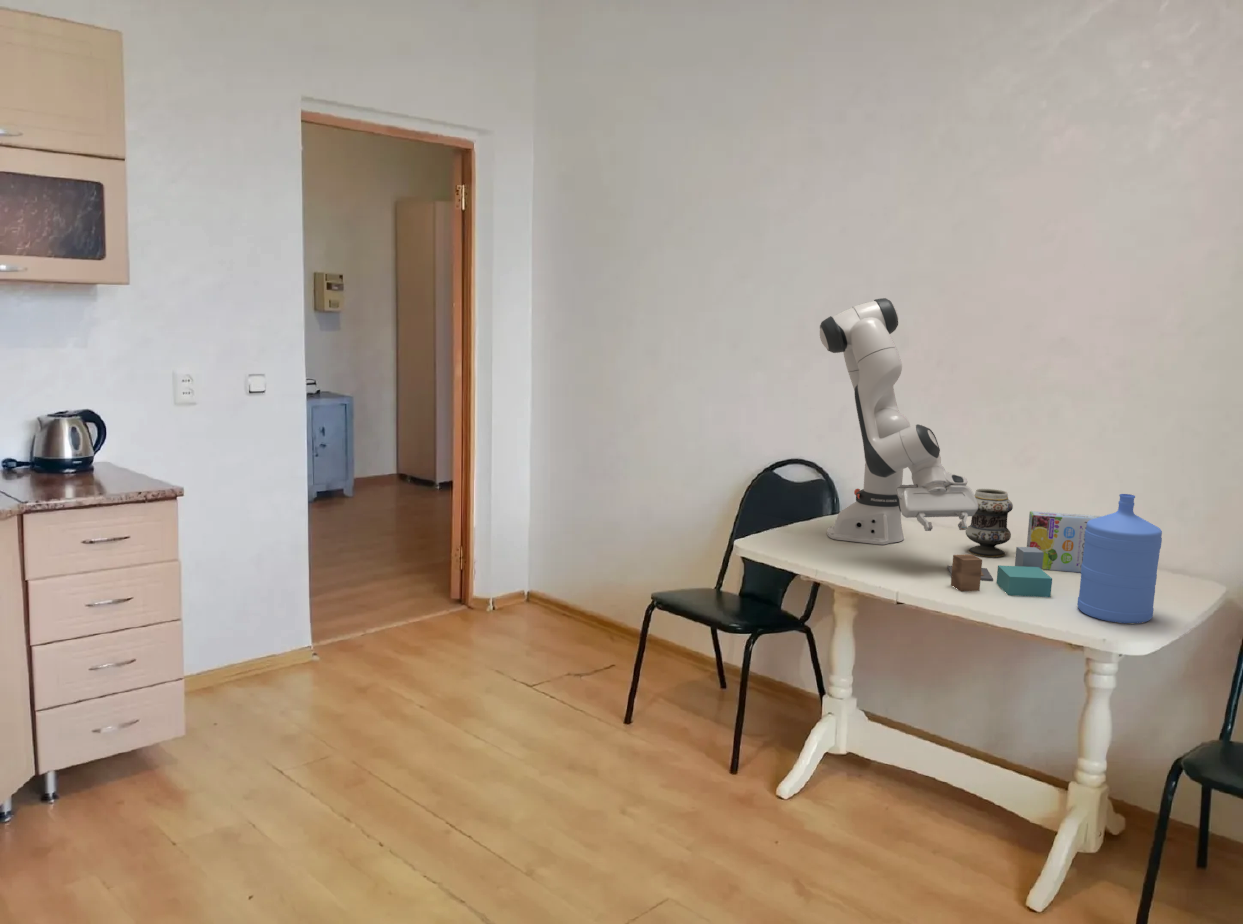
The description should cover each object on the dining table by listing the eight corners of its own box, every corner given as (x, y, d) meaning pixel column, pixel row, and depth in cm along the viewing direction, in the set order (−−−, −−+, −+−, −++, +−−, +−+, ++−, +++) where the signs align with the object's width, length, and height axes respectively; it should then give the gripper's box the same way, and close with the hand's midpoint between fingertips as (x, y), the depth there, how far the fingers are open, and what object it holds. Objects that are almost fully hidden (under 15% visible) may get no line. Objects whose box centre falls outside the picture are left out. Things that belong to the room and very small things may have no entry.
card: (952, 578, 248) (952, 575, 248) (947, 567, 257) (947, 564, 257) (993, 581, 246) (993, 578, 246) (986, 570, 256) (986, 567, 255)
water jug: (1131, 629, 211) (1145, 505, 207) (1063, 610, 224) (1075, 492, 219) (1165, 616, 221) (1179, 497, 216) (1098, 598, 233) (1110, 485, 228)
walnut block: (950, 585, 242) (953, 554, 240) (969, 584, 243) (971, 554, 241) (960, 591, 237) (963, 560, 235) (979, 590, 238) (982, 559, 236)
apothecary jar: (1002, 548, 279) (1007, 487, 276) (1014, 559, 267) (1020, 496, 264) (959, 546, 280) (964, 486, 277) (970, 557, 268) (975, 494, 265)
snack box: (1109, 570, 258) (1115, 515, 255) (1113, 576, 253) (1119, 520, 250) (1024, 563, 264) (1029, 509, 261) (1027, 568, 258) (1032, 514, 256)
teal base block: (1007, 596, 235) (1009, 576, 234) (996, 584, 244) (997, 565, 243) (1050, 598, 234) (1052, 578, 233) (1036, 586, 243) (1038, 567, 243)
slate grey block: (1021, 582, 246) (1023, 552, 244) (1013, 576, 251) (1016, 546, 249) (1040, 582, 246) (1043, 552, 244) (1033, 577, 250) (1035, 547, 249)
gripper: (898, 478, 251) (912, 523, 243) (972, 477, 254) (988, 522, 246) (890, 491, 256) (903, 536, 248) (962, 490, 259) (977, 534, 251)
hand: (946, 529), depth 247 cm, fingers open, 8 cm apart
